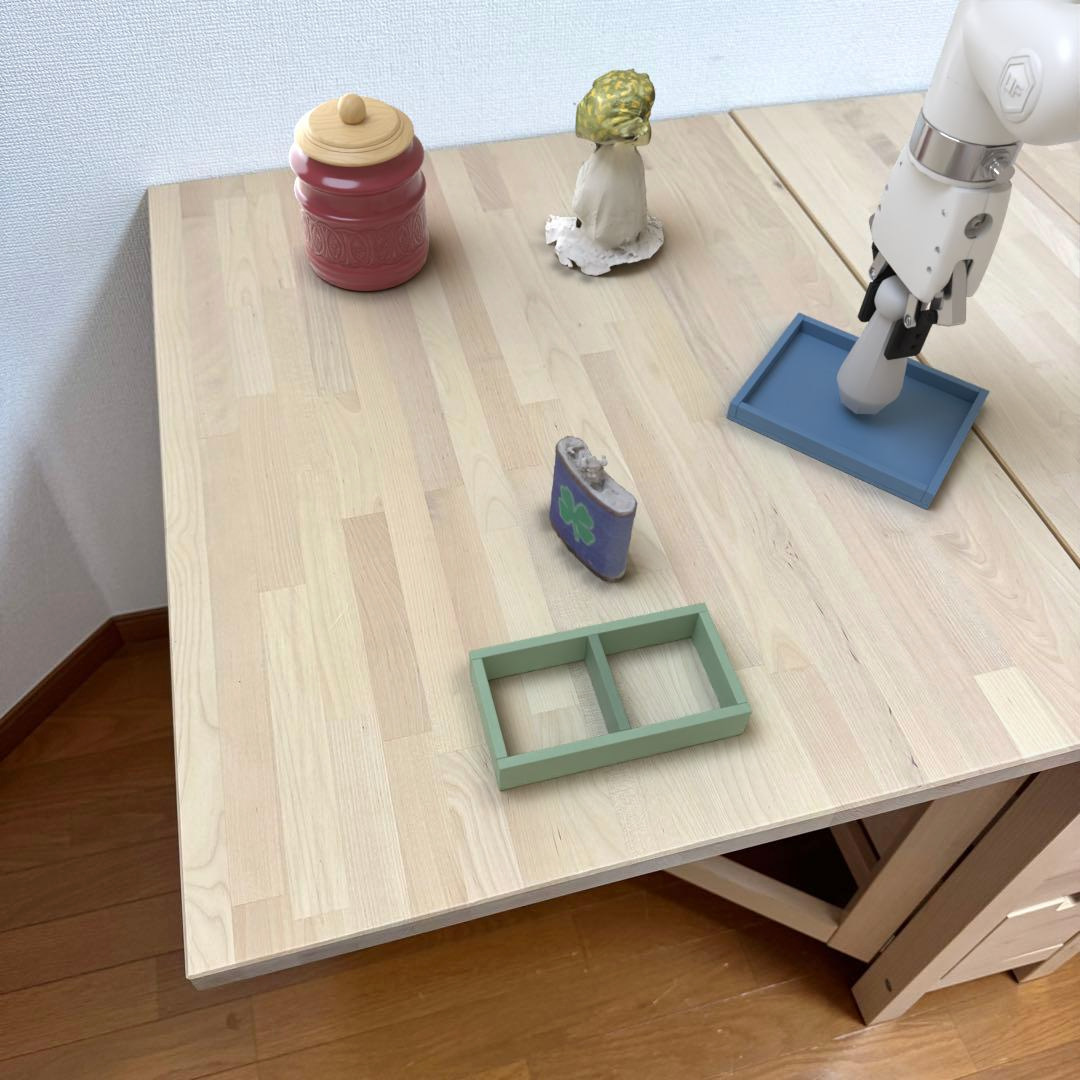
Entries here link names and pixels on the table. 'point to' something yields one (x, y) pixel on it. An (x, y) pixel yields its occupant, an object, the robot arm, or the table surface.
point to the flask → (591, 510)
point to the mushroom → (610, 179)
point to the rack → (609, 693)
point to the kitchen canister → (360, 193)
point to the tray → (858, 439)
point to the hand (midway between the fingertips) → (887, 335)
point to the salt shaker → (876, 355)
